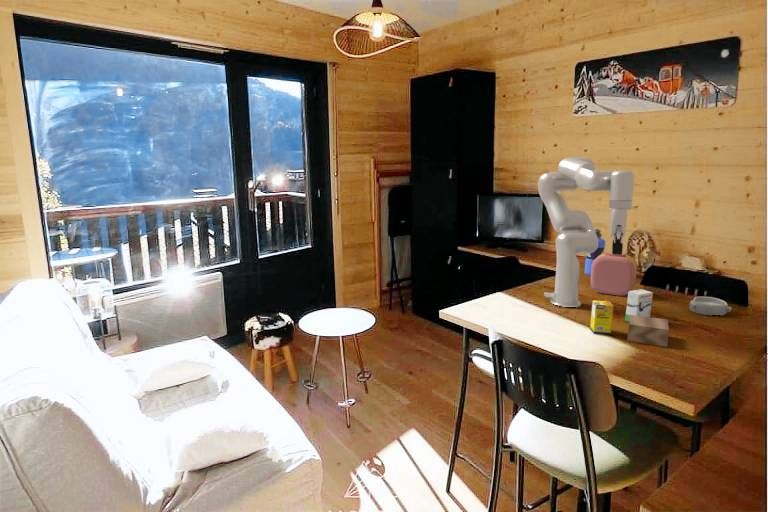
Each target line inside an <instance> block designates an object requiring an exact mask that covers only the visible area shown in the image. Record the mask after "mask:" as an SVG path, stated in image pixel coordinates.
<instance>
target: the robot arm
mask: <svg viewBox="0 0 768 512" xmlns="http://www.w3.org/2000/svg"><path fill="white" fill-rule="evenodd" d="M595 166H596V165H595V163H594V161H593V160H592V159H591V158H589V157H576V156H575V157H572V156H571V157H565V158H564V159H562V160H561V161H560V162H559V163H558V166H557V170H558V171H551V172H550V171H548V172H545V173H543V174H541V175H540V177H539V178H538V181H537V190H538V194H539V196H540V197H539V198H540V199H541V201H542V202H543V205H544V206H545V208H546V211H547V213H548V216H549V220H550V223H551V225H552V227H553V229H554V231H556V232H557V233H560V234H558V235H557V236H556V238H555V252H556V263H555V264H556V267H555V269H556V270H555V280H554V281H555V282H554V292H545V291H544V293H543V297H544V298H547V299H548V298H549V302H551V303H552V304H551V303H550V304H551V305H553V304H554V305H553V306H555V305H558V306H557V307H559V306H562V307H561V308H565V307H576V308H579V307H581V306H582V303H581V301H580V300H578V299H579V285H580V284H579V283H580V272H581V263H580V260H579V259H578V257H577V255H583V254H585V255H587V253H593V252H595V251H596V250H597V248H598V238H597V235H596V232H595V228H594V224H593V222H592V220H591V218H590V216H589V214H588V213H587V212H585V211H584V210H577V209H576V210H575V209H574V210H571V209H570V208H569V207H568V204H567V202H566V200H565V198H563V196H562V195H560V194H559V193H558V192H572V191H573V192H574V191H576V190H578V189H579V188H582V189H583V190H586V191H590V192H604V191H605V192H609V198H608V210H611V213H610V223H609V237H610V238H612V237H613V239H612V244H611V245H612V246H611V248H612V249H611V252H612V254H622V253H623V248H624V247H623V245H624V244H623V238H625V236H626V232H627V231H626V230H627V225H628V224H627V223H628V212H629V211H631V210H633V209H632V208H633V197H634V183H635V174H634V171H632V170H613V169H612V170H610V169H609V170H605V169H603V170H600V169H599V170H596V167H595Z"/></svg>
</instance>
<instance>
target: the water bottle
mask: <svg viewBox="0 0 768 512" xmlns="http://www.w3.org/2000/svg"><path fill="white" fill-rule="evenodd" d="M594 230H595V232H596V235H597V238H598V248H597V250H596V251H595V252H593V253H587V254H585V255H586V256H585V263H584V275H585V276H590V277H591V267H592V263H593V261H594V260H595V259H596V258H597V257H598V256H599V255H601V254H603V253H605V252H604V251H605V247H606V240H605V239H604V238H602V233H601V232H602V231H601V229H598V228H594Z"/></svg>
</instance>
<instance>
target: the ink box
mask: <svg viewBox="0 0 768 512" xmlns="http://www.w3.org/2000/svg"><path fill="white" fill-rule="evenodd" d="M653 294H654V293H653V292H652V291H650V290H649V291H648V290H645V289H634V290H633V289H632V291H629V292H628V294H627V301H626V310H625V317H624V321H626V322H627V323H629V316H630V315H635V316H643V317H651V310H652V302H653Z"/></svg>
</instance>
